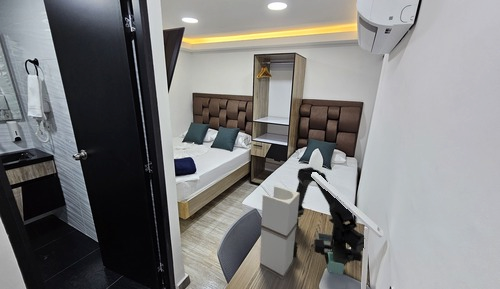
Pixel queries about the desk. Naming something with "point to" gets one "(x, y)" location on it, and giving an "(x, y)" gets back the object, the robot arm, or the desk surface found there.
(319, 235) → the grey square tray
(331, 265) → the teal crate
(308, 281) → the desk surface
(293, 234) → the white pencil holder
